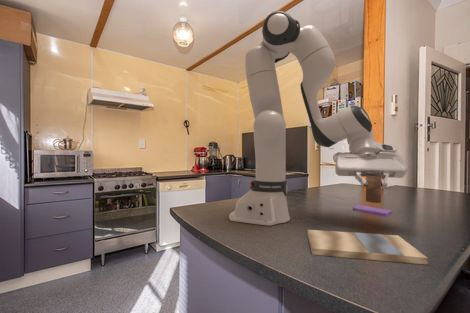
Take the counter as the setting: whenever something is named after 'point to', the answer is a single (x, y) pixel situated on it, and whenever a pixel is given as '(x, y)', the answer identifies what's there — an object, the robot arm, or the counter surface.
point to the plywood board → (364, 246)
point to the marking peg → (373, 187)
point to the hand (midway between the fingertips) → (374, 185)
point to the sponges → (372, 210)
